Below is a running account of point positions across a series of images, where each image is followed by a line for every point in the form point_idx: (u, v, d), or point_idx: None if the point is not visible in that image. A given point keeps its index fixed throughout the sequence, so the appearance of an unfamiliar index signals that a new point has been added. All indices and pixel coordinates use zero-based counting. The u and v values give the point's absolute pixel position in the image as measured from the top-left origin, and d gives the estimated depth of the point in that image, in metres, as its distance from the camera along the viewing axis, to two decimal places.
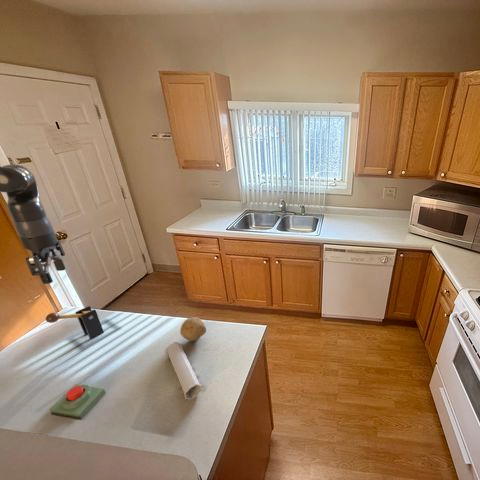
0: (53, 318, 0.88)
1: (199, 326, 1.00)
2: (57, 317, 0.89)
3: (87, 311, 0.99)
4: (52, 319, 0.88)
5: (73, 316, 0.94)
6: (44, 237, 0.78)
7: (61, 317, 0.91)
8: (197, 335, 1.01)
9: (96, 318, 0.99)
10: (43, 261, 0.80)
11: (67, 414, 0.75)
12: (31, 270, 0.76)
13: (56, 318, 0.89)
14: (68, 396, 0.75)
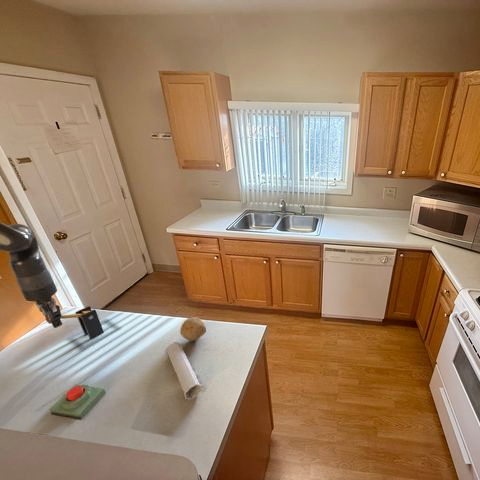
0: None
1: (199, 326, 1.00)
2: None
3: (87, 311, 0.99)
4: None
5: (73, 316, 0.94)
6: (52, 284, 0.85)
7: (61, 317, 0.91)
8: (197, 335, 1.01)
9: (96, 318, 0.99)
10: None
11: (67, 414, 0.75)
12: (52, 317, 0.85)
13: None
14: (68, 396, 0.75)
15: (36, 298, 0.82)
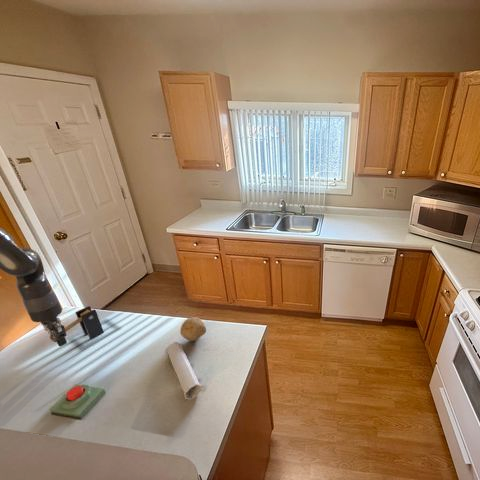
0: None
1: (199, 326, 1.00)
2: None
3: (84, 312, 0.98)
4: None
5: (74, 324, 0.95)
6: (57, 305, 0.88)
7: None
8: (197, 335, 1.01)
9: (96, 318, 0.99)
10: None
11: (67, 414, 0.75)
12: (58, 337, 0.88)
13: None
14: (68, 396, 0.75)
15: (42, 319, 0.85)
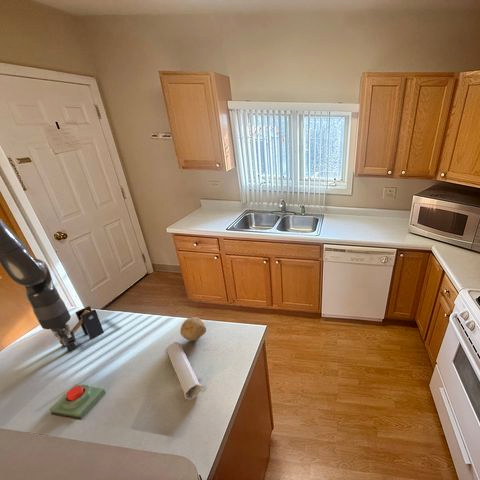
0: None
1: (199, 326, 1.00)
2: None
3: (83, 313, 0.98)
4: None
5: (78, 326, 0.96)
6: (66, 312, 0.91)
7: None
8: (197, 335, 1.01)
9: (96, 318, 0.99)
10: None
11: (67, 414, 0.75)
12: (67, 342, 0.91)
13: None
14: (68, 396, 0.75)
15: (52, 326, 0.87)
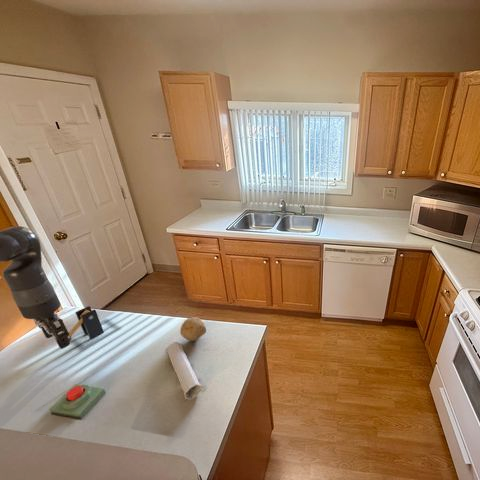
0: None
1: (199, 326, 1.00)
2: None
3: (83, 313, 0.98)
4: None
5: (78, 326, 0.96)
6: (55, 298, 0.72)
7: (70, 334, 0.95)
8: (197, 335, 1.01)
9: (96, 318, 0.99)
10: None
11: (67, 414, 0.75)
12: (57, 335, 0.71)
13: None
14: (68, 396, 0.75)
15: (36, 315, 0.69)
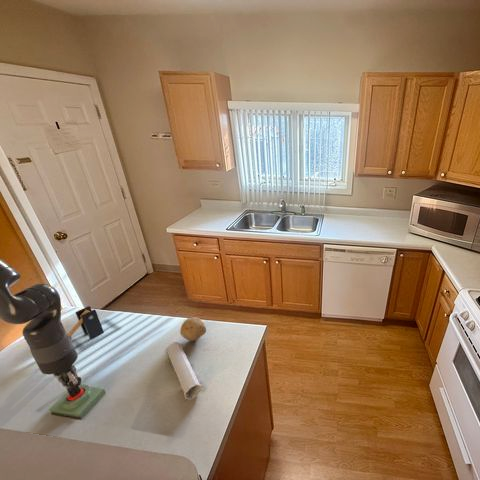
0: None
1: (199, 326, 1.00)
2: None
3: (83, 313, 0.98)
4: None
5: (78, 326, 0.96)
6: (73, 351, 0.72)
7: (70, 334, 0.95)
8: (197, 335, 1.01)
9: (96, 318, 0.99)
10: None
11: (67, 414, 0.75)
12: (71, 389, 0.72)
13: None
14: (69, 398, 0.75)
15: (54, 370, 0.68)
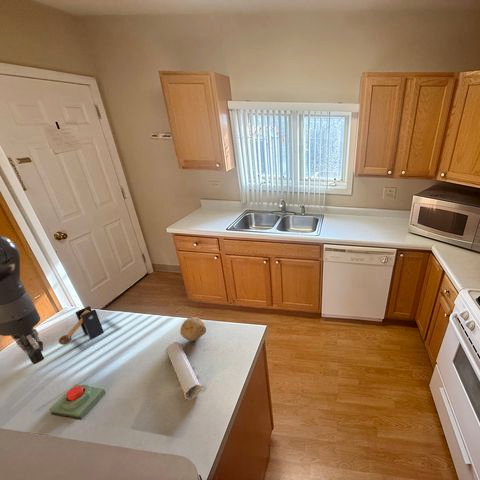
0: (65, 342, 0.93)
1: (199, 326, 1.00)
2: (67, 339, 0.93)
3: (83, 313, 0.98)
4: (65, 343, 0.93)
5: (78, 326, 0.96)
6: (34, 313, 0.66)
7: (70, 334, 0.95)
8: (197, 335, 1.01)
9: (96, 318, 0.99)
10: None
11: (67, 414, 0.75)
12: (31, 354, 0.67)
13: (67, 340, 0.93)
14: (68, 396, 0.75)
15: (11, 332, 0.63)
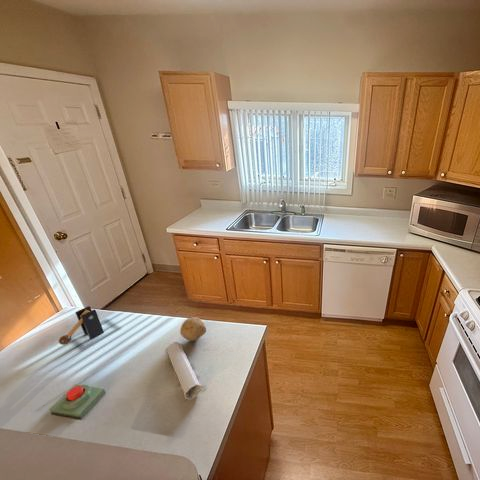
0: (65, 342, 0.93)
1: (199, 326, 1.00)
2: (67, 339, 0.93)
3: (83, 313, 0.98)
4: (65, 343, 0.93)
5: (78, 326, 0.96)
6: None
7: (70, 334, 0.95)
8: (197, 335, 1.01)
9: (96, 318, 0.99)
10: None
11: (67, 414, 0.75)
12: None
13: (67, 340, 0.93)
14: (68, 396, 0.75)
15: None
